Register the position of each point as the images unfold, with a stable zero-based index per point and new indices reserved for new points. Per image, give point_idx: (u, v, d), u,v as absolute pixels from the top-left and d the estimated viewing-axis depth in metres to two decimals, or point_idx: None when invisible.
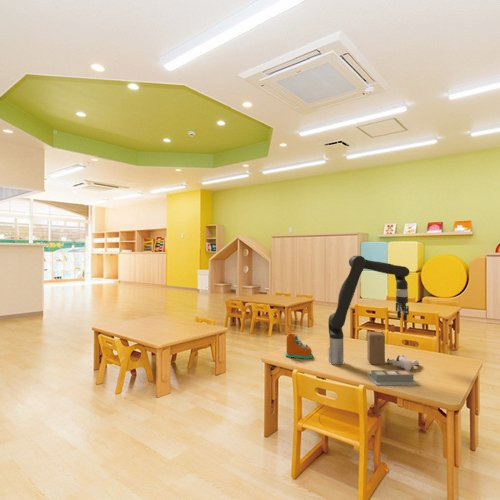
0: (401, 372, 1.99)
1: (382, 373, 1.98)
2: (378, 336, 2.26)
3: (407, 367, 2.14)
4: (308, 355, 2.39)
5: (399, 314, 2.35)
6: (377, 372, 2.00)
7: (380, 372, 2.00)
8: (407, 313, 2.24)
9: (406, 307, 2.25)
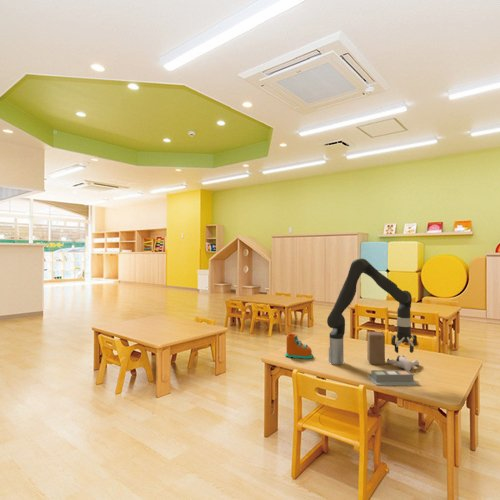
0: (401, 372, 1.99)
1: (382, 373, 1.98)
2: (378, 336, 2.26)
3: (407, 367, 2.14)
4: (308, 355, 2.39)
5: None
6: (377, 372, 2.00)
7: (380, 372, 2.00)
8: None
9: None
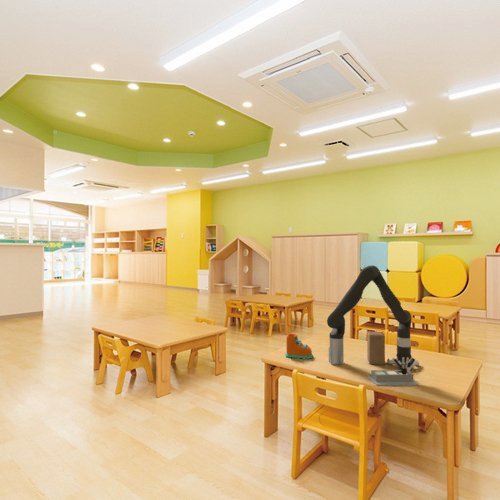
0: None
1: (382, 373, 1.98)
2: (378, 336, 2.26)
3: None
4: (308, 355, 2.39)
5: None
6: (377, 372, 2.00)
7: (380, 372, 2.00)
8: None
9: None
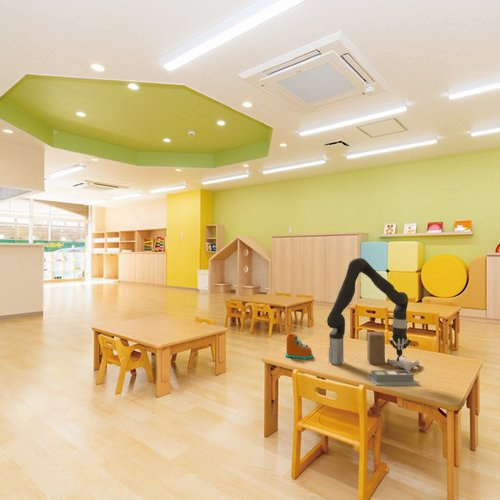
0: None
1: (382, 373, 1.98)
2: (378, 336, 2.26)
3: (407, 367, 2.13)
4: (308, 355, 2.39)
5: None
6: (377, 372, 2.00)
7: (380, 372, 2.00)
8: None
9: None
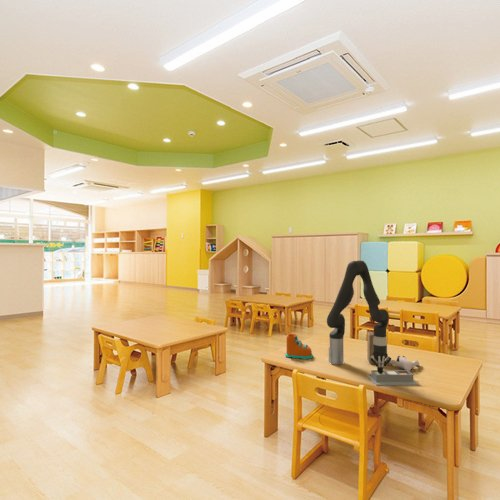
0: None
1: (382, 373, 1.98)
2: None
3: (407, 368, 2.13)
4: (308, 355, 2.39)
5: None
6: (377, 372, 2.00)
7: None
8: None
9: None
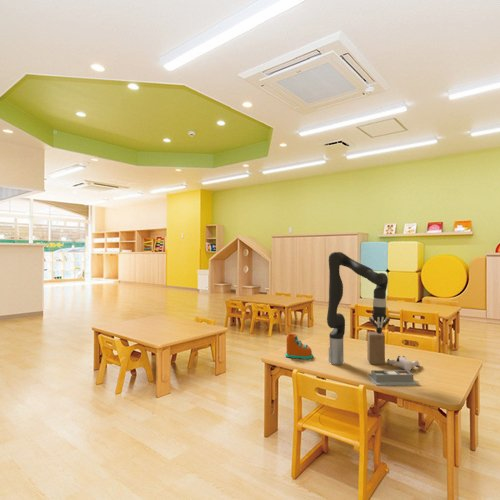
0: None
1: None
2: (378, 336, 2.26)
3: (407, 368, 2.13)
4: (308, 355, 2.39)
5: None
6: (377, 374, 2.00)
7: (380, 374, 2.00)
8: None
9: None
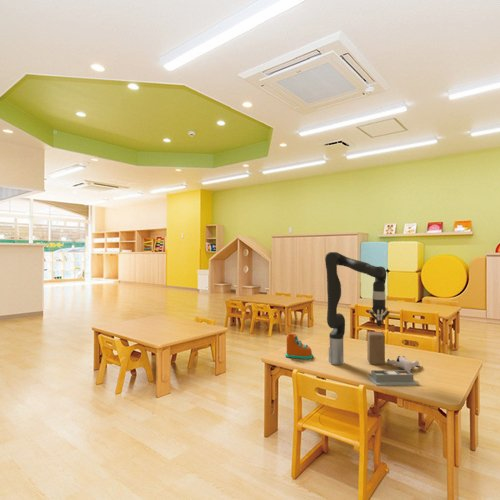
0: None
1: None
2: (378, 336, 2.26)
3: (407, 368, 2.13)
4: (308, 355, 2.39)
5: None
6: (377, 374, 2.00)
7: (380, 374, 2.00)
8: None
9: None
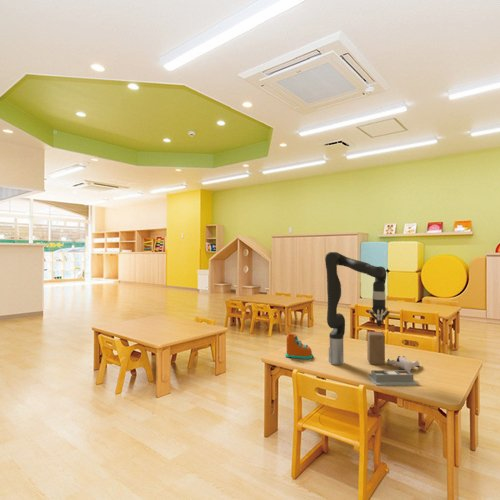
0: None
1: None
2: (378, 336, 2.26)
3: (407, 368, 2.13)
4: (309, 355, 2.39)
5: None
6: (377, 374, 2.00)
7: (380, 374, 2.00)
8: None
9: None
